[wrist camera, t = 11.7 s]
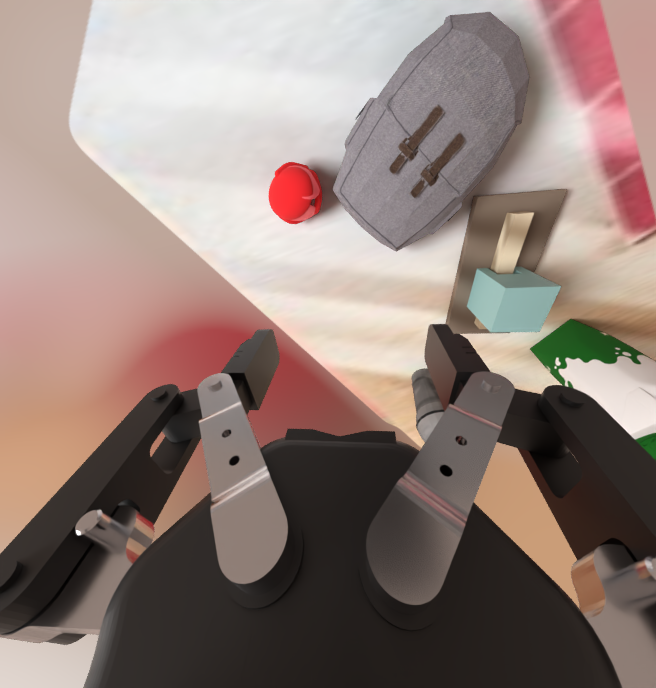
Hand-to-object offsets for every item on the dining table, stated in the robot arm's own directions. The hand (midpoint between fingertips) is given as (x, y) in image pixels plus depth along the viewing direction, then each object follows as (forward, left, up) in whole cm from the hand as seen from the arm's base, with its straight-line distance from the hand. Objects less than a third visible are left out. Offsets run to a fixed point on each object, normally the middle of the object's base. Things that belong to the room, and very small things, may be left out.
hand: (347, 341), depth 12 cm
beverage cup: (+27, +14, -28) cm, 41 cm away
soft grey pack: (-10, +8, -28) cm, 30 cm away
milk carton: (+19, +36, -28) cm, 49 cm away
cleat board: (+6, +21, -27) cm, 35 cm away
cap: (-6, -7, -28) cm, 29 cm away
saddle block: (+8, +21, -26) cm, 34 cm away
